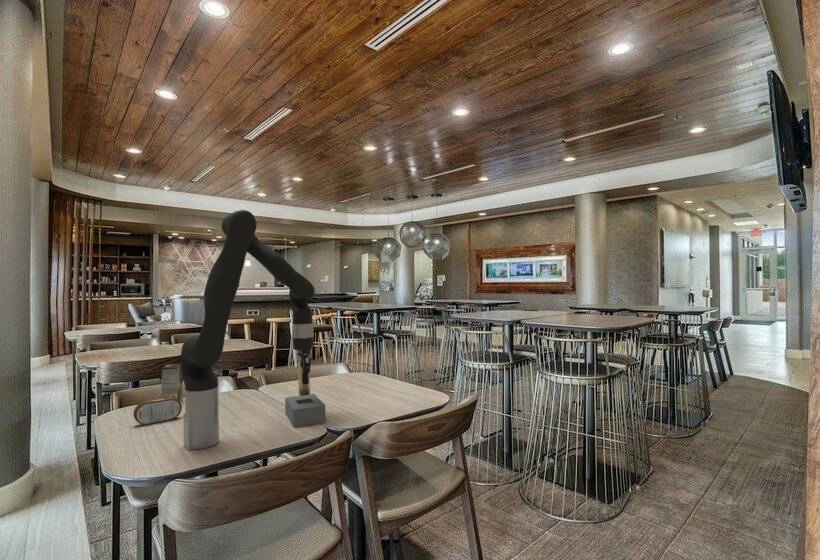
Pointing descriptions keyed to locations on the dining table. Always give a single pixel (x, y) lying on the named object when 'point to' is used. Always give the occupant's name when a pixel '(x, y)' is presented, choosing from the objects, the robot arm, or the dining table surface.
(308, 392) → the pin
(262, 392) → the dining table surface
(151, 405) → the tin
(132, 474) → the dining table surface
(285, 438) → the dining table surface
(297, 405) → the socket block
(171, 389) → the coffee box
